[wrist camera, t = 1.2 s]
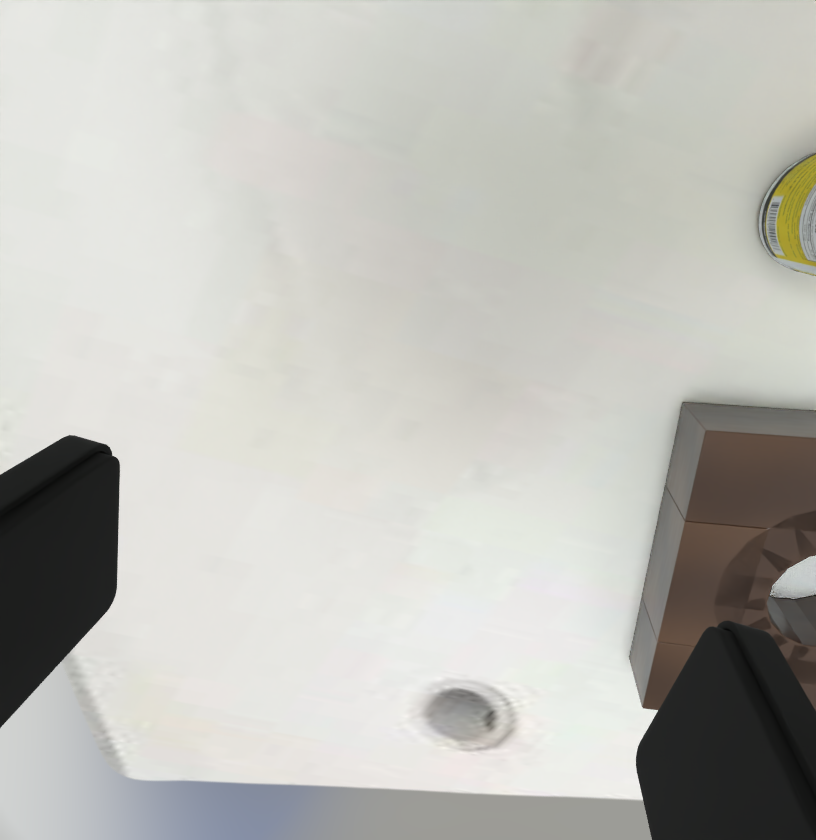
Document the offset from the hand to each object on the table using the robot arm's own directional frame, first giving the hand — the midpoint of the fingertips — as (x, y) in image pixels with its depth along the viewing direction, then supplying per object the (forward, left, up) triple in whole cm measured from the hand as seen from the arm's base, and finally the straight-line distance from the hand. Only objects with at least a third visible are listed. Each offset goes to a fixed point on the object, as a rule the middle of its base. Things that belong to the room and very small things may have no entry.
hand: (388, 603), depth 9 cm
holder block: (-2, +24, -24) cm, 34 cm away
